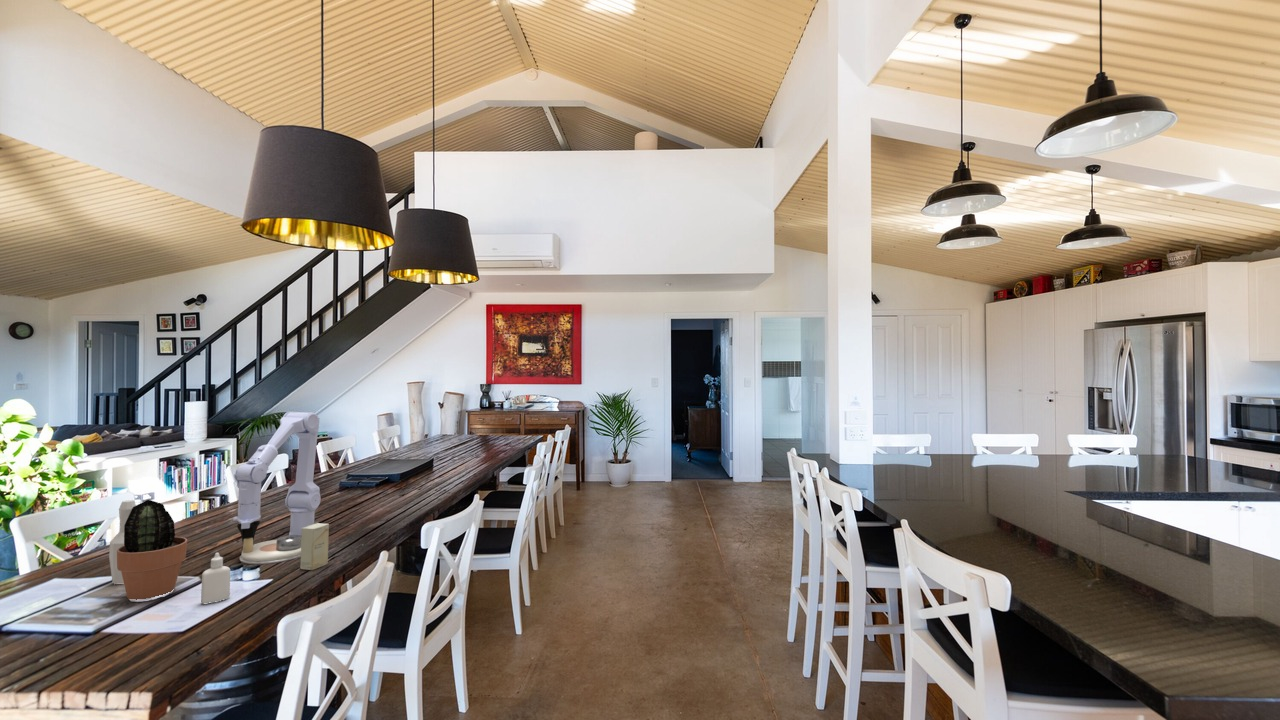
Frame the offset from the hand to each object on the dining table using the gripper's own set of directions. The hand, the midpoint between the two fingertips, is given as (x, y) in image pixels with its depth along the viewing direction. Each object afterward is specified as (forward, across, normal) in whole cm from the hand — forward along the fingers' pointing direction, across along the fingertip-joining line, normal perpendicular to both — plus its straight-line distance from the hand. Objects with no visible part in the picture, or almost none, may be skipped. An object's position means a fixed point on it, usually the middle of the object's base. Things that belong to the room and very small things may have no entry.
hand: (247, 546), depth 170 cm
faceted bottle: (+4, +9, -26) cm, 28 cm away
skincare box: (+4, +18, +19) cm, 26 cm away
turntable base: (+3, 0, +8) cm, 8 cm away
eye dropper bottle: (+3, +35, -2) cm, 36 cm away
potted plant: (+4, +24, -17) cm, 30 cm away
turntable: (+3, 0, +8) cm, 8 cm away
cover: (+1, +3, +11) cm, 12 cm away
